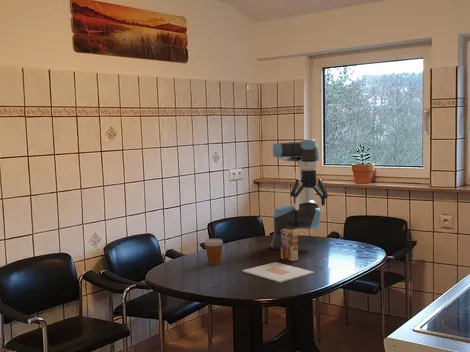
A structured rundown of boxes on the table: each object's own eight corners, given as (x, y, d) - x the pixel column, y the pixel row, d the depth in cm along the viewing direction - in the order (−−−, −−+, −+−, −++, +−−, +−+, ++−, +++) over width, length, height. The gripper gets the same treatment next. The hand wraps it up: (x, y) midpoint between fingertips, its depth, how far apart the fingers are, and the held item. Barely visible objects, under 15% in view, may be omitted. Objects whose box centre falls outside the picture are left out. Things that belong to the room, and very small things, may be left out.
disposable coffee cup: (209, 260, 287) (208, 238, 286) (226, 261, 284) (225, 238, 282) (202, 265, 278) (201, 241, 277) (219, 266, 275) (219, 242, 274)
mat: (242, 271, 264) (242, 270, 264) (275, 263, 278) (275, 261, 278) (280, 282, 244) (280, 280, 244) (313, 273, 258) (313, 271, 258)
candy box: (298, 259, 283) (298, 230, 282) (292, 261, 281) (292, 231, 279) (286, 257, 290) (286, 228, 289) (280, 258, 287) (280, 229, 286)
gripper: (283, 169, 284) (284, 210, 286) (328, 171, 271) (329, 213, 273) (289, 168, 291) (290, 208, 293) (334, 169, 277) (334, 211, 280)
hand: (309, 210), depth 283 cm, fingers open, 13 cm apart
